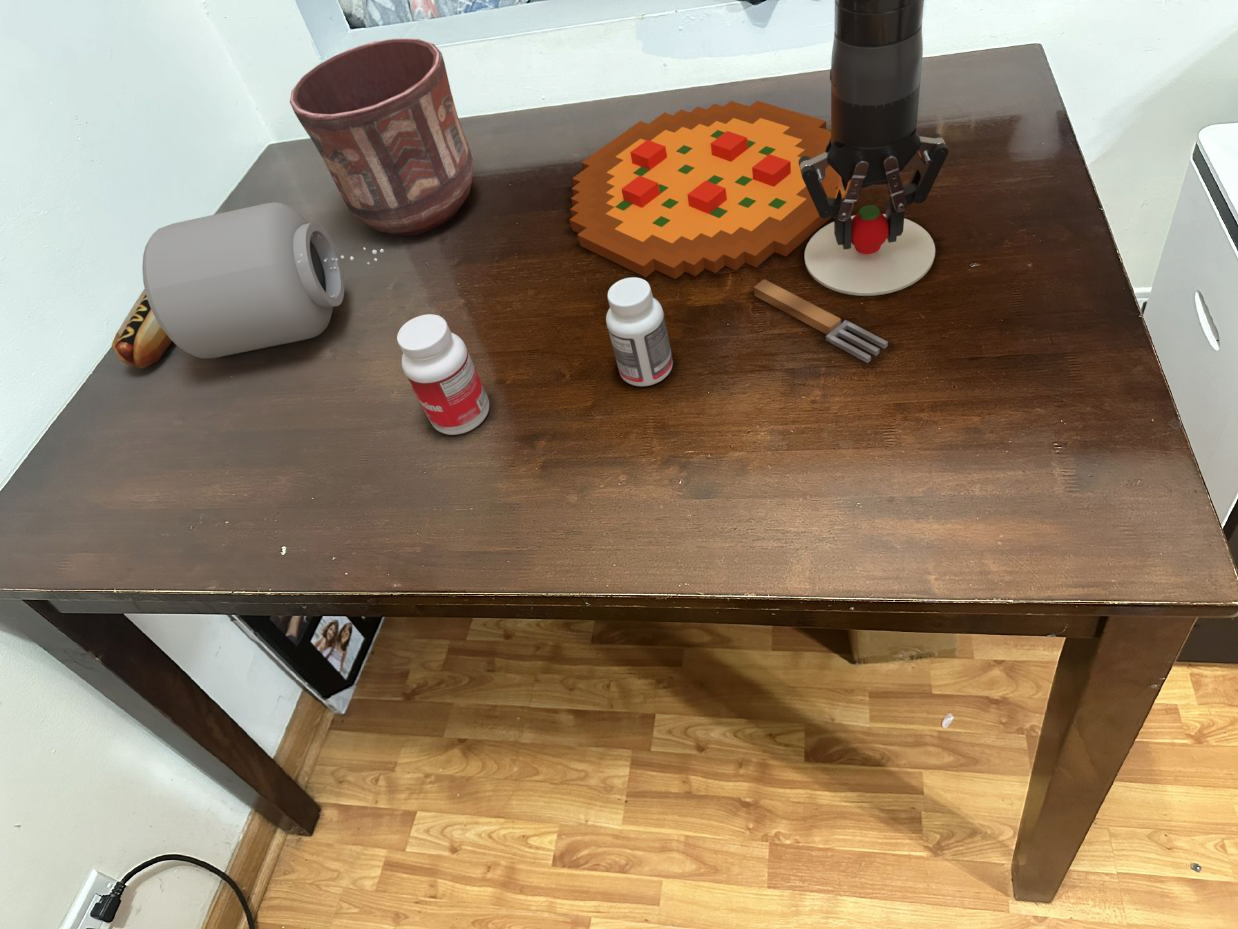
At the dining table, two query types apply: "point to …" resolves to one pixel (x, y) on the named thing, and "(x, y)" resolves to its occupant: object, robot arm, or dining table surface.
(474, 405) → the pill bottle
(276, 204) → the jar
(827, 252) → the plate
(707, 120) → the pizza
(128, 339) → the hot dog
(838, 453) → the dining table surface
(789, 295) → the fork
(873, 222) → the strawberry
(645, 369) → the pill bottle
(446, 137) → the pottery
